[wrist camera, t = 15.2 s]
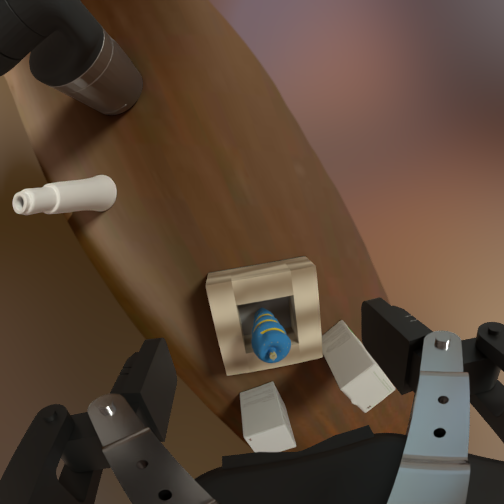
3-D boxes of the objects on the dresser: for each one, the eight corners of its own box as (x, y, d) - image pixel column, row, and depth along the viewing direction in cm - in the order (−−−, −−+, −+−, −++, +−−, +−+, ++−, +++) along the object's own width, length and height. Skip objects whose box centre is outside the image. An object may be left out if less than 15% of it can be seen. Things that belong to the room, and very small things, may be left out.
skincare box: (362, 344, 53) (398, 389, 38) (336, 365, 54) (365, 415, 39) (340, 317, 51) (377, 362, 36) (312, 340, 52) (340, 391, 37)
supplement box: (252, 415, 55) (258, 459, 43) (238, 392, 53) (242, 437, 41) (285, 404, 55) (297, 447, 43) (274, 380, 53) (285, 424, 41)
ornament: (279, 298, 49) (300, 343, 35) (272, 325, 50) (289, 376, 36) (249, 293, 49) (259, 338, 34) (243, 321, 50) (250, 372, 35)
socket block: (208, 272, 48) (205, 285, 41) (304, 256, 48) (315, 266, 42) (226, 355, 51) (226, 375, 45) (313, 339, 52) (322, 357, 46)
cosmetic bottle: (123, 199, 44) (48, 212, 22) (95, 218, 44) (14, 243, 23) (107, 167, 42) (26, 160, 21) (80, 187, 43) (-6, 195, 21)
